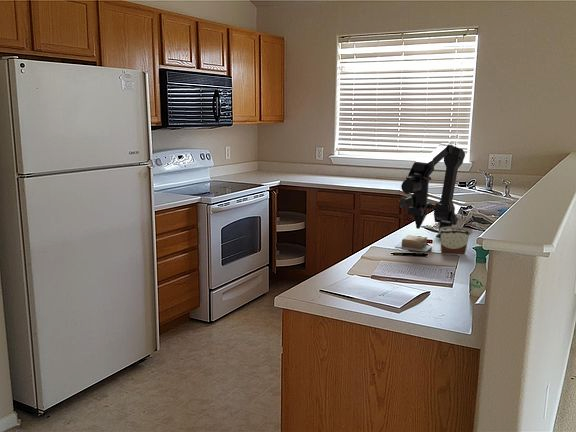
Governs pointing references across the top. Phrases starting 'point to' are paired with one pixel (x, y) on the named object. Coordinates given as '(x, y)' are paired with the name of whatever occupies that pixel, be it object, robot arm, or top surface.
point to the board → (414, 249)
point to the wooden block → (414, 242)
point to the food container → (454, 240)
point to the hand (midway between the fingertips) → (418, 228)
